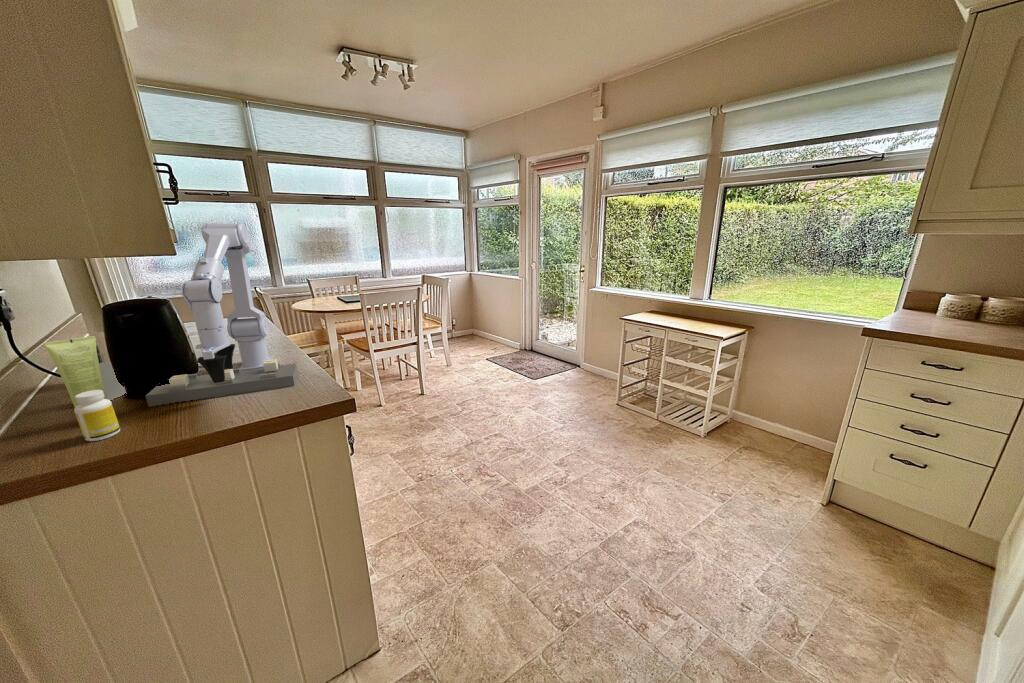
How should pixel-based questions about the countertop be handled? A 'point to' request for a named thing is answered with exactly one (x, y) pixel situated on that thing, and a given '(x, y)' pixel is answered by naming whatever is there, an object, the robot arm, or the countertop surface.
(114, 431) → the supplement bottle
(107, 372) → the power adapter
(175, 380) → the switch
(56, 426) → the countertop surface
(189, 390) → the power strip
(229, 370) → the switch mid
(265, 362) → the switch
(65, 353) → the tube
